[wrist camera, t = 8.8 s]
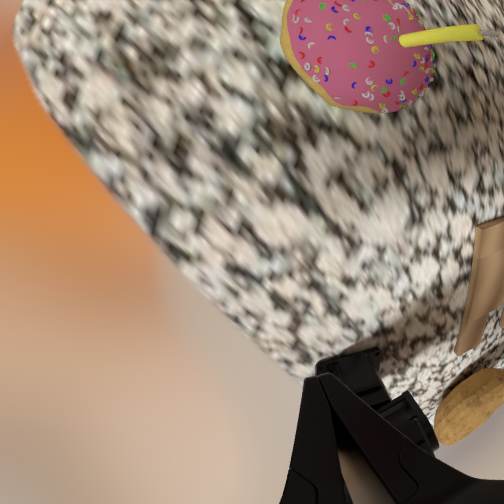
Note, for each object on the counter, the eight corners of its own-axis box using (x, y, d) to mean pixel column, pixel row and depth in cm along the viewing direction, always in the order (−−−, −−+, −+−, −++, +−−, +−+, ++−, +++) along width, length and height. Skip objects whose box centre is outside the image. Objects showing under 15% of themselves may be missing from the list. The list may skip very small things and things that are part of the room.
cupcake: (403, 49, 14) (531, 16, 3) (364, 142, 17) (510, 167, 6) (298, -13, 12) (366, -120, 1) (245, 81, 15) (275, -16, 4)
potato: (490, 371, 31) (514, 401, 23) (425, 422, 33) (444, 458, 25) (494, 340, 27) (524, 373, 20) (418, 400, 29) (442, 443, 22)
